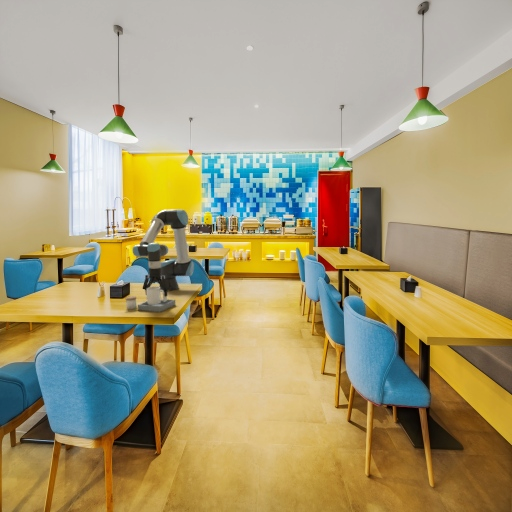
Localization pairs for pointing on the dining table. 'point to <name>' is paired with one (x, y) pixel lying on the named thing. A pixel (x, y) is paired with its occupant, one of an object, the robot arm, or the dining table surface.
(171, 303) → the bus tub
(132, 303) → the sugar pot
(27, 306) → the dining table surface
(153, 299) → the cup
